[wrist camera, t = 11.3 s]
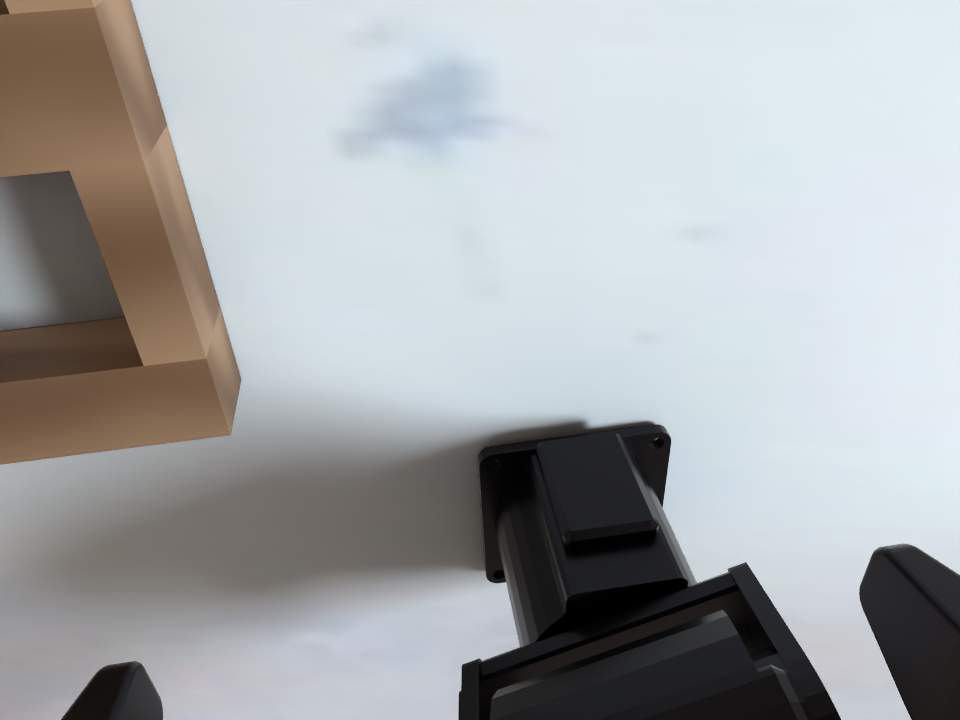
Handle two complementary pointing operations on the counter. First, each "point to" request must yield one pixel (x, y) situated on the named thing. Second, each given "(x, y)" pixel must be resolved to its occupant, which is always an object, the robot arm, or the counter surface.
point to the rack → (108, 245)
